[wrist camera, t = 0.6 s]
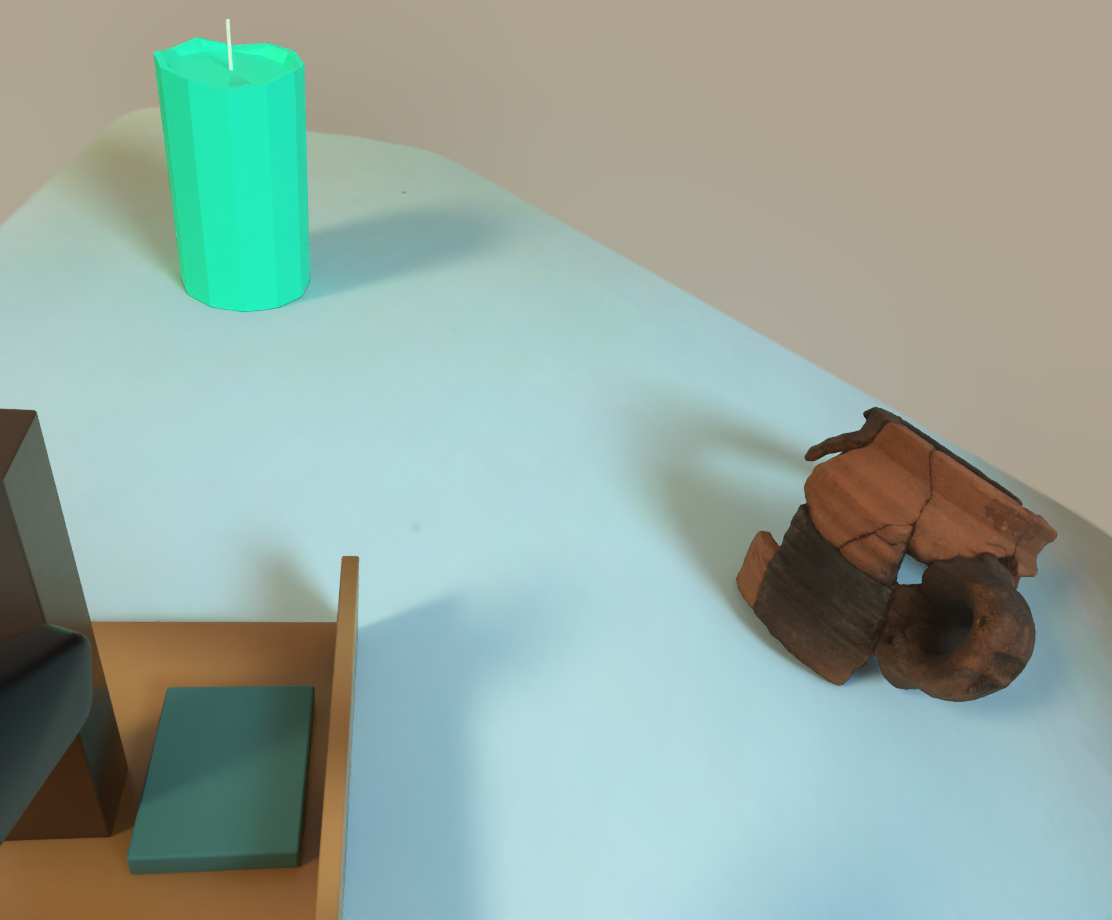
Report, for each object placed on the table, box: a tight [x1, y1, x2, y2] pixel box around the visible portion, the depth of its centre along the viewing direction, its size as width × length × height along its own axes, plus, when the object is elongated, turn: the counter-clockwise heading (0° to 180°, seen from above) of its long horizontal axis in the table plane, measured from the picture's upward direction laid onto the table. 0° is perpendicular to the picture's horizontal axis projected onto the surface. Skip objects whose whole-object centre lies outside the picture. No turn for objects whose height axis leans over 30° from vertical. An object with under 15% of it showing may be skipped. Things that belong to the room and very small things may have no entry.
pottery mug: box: [736, 407, 1057, 702], centre depth 32 cm, size 12×10×8 cm
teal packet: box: [126, 686, 315, 875], centre depth 25 cm, size 5×4×1 cm
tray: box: [0, 409, 359, 920], centre depth 20 cm, size 12×14×12 cm
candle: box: [153, 19, 310, 312], centre depth 42 cm, size 6×6×12 cm
